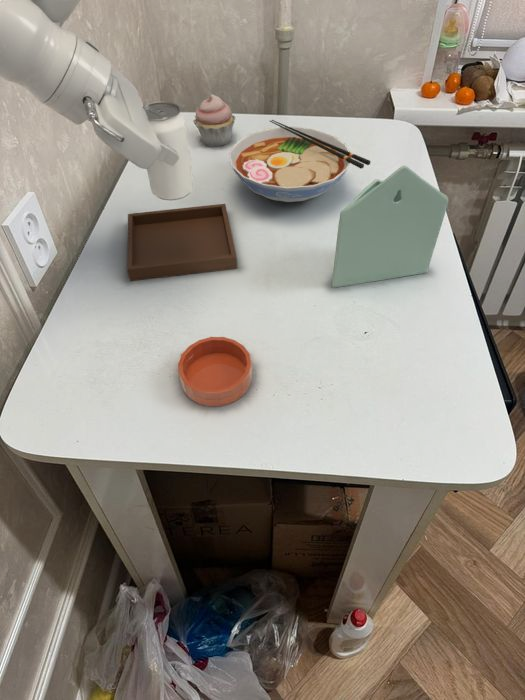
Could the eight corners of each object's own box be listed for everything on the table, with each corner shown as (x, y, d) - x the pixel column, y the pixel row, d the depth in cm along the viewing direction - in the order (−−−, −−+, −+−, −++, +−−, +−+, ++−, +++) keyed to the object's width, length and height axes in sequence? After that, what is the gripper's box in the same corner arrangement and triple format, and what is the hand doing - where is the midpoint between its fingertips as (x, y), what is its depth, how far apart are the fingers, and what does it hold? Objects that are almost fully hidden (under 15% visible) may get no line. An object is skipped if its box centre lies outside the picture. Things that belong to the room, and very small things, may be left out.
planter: (408, 243, 87) (436, 132, 72) (427, 272, 82) (462, 159, 67) (317, 257, 85) (327, 145, 70) (331, 288, 80) (345, 174, 65)
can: (167, 206, 74) (152, 126, 65) (143, 189, 77) (126, 109, 68) (202, 190, 76) (193, 111, 67) (178, 174, 80) (166, 95, 71)
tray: (130, 281, 81) (126, 269, 80) (130, 225, 92) (127, 213, 90) (237, 268, 83) (236, 256, 81) (226, 215, 93) (225, 203, 91)
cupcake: (193, 132, 115) (188, 87, 107) (233, 128, 116) (231, 83, 108) (197, 152, 109) (191, 105, 101) (239, 148, 110) (237, 101, 102)
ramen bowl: (204, 185, 100) (200, 146, 94) (288, 147, 110) (289, 109, 104) (289, 243, 88) (291, 201, 81) (375, 194, 97) (383, 154, 91)
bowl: (183, 412, 65) (180, 398, 62) (179, 355, 71) (176, 341, 69) (256, 401, 66) (256, 387, 63) (246, 346, 72) (245, 332, 70)
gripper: (104, 96, 55) (200, 164, 64) (85, 35, 67) (168, 99, 77) (74, 143, 57) (171, 201, 67) (62, 76, 70) (144, 133, 79)
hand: (169, 146), depth 72 cm, fingers closed on can, 6 cm apart
